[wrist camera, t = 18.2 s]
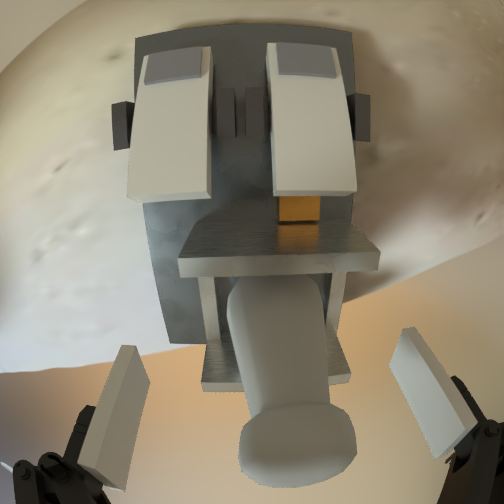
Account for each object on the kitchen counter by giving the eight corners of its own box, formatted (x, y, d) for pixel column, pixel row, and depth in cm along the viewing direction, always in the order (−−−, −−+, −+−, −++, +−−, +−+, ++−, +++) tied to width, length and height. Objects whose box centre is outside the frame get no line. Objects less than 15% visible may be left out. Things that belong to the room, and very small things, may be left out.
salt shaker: (214, 267, 18) (181, 462, 6) (299, 236, 17) (384, 416, 5) (247, 332, 20) (253, 504, 8) (321, 307, 20) (382, 473, 8)
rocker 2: (273, 196, 13) (277, 188, 11) (265, 59, 13) (267, 39, 11) (345, 196, 13) (359, 190, 11) (328, 63, 13) (337, 45, 11)
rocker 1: (139, 203, 13) (124, 196, 11) (152, 71, 13) (142, 53, 11) (211, 198, 13) (205, 189, 11) (213, 63, 13) (209, 42, 11)
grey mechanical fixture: (175, 324, 23) (156, 391, 16) (148, 47, 14) (99, 12, 7) (326, 319, 23) (351, 384, 16) (338, 42, 14) (386, 4, 7)
